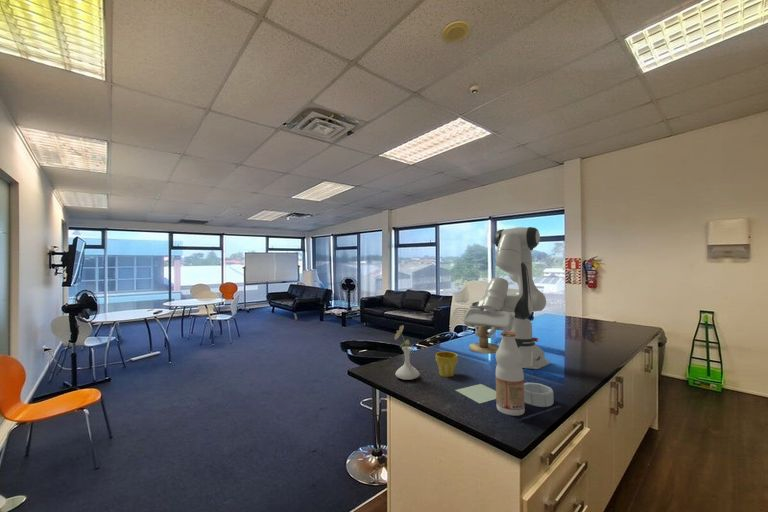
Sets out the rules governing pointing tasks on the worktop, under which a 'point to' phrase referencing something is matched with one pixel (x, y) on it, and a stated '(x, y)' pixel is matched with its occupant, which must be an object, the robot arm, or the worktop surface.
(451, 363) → the plant pot
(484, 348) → the lid
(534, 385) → the bowl
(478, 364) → the worktop surface
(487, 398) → the mat
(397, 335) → the flower in vase
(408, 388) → the worktop surface
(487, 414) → the worktop surface
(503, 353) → the fruit juice
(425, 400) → the worktop surface
